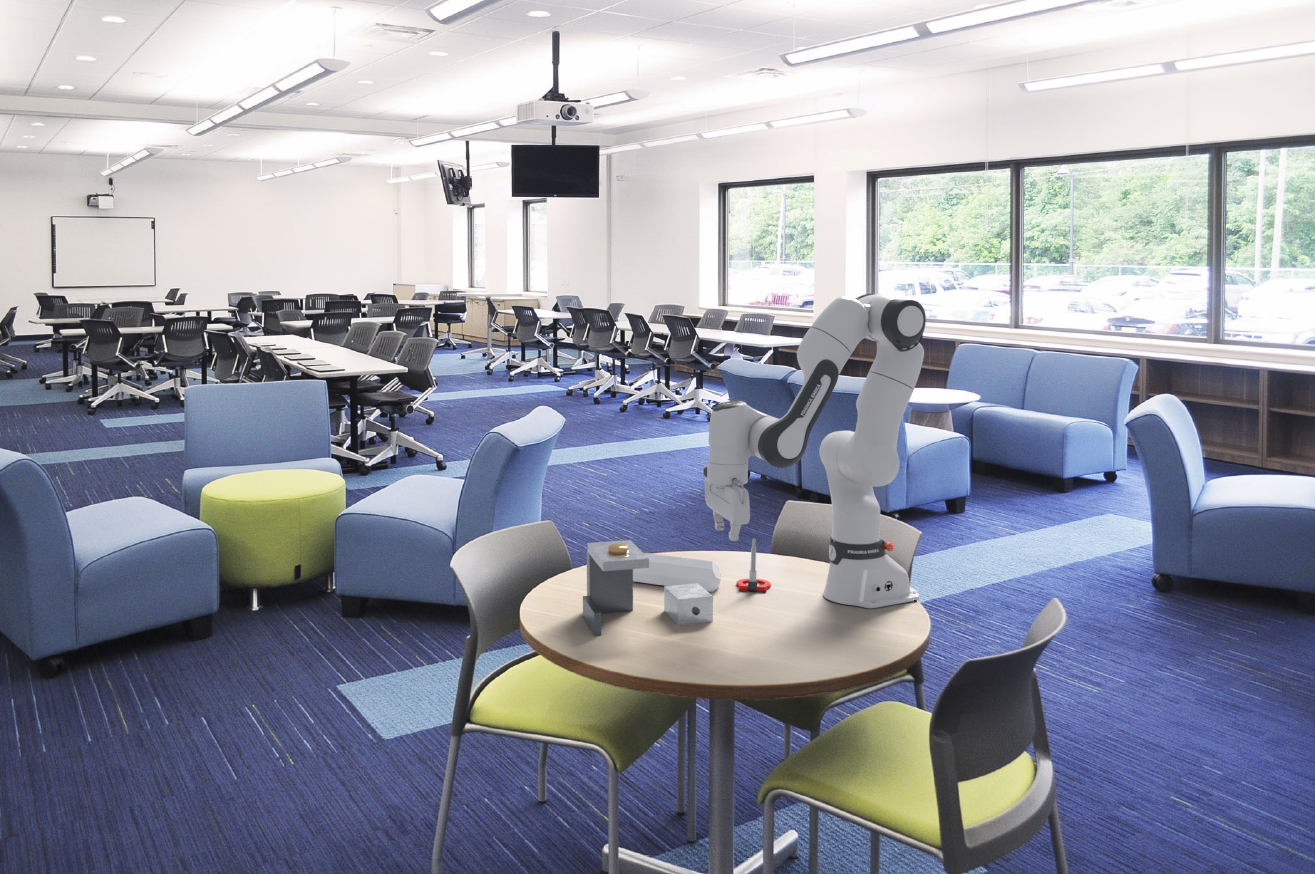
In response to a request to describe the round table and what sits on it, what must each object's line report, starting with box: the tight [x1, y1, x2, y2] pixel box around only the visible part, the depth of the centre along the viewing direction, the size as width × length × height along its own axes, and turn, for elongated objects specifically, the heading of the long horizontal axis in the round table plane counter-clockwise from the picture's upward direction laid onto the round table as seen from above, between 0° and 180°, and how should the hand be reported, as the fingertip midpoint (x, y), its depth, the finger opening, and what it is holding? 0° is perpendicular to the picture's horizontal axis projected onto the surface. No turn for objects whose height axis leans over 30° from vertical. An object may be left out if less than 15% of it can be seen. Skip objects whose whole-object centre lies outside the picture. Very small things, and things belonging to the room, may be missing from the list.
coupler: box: [582, 539, 649, 637], centre depth 233 cm, size 12×17×17 cm
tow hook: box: [735, 538, 772, 593], centre depth 259 cm, size 8×13×9 cm
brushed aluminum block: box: [663, 583, 714, 626], centre depth 237 cm, size 8×10×6 cm
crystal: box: [633, 552, 722, 593], centre depth 260 cm, size 7×7×24 cm
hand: (726, 535), depth 237 cm, fingers open, 8 cm apart
